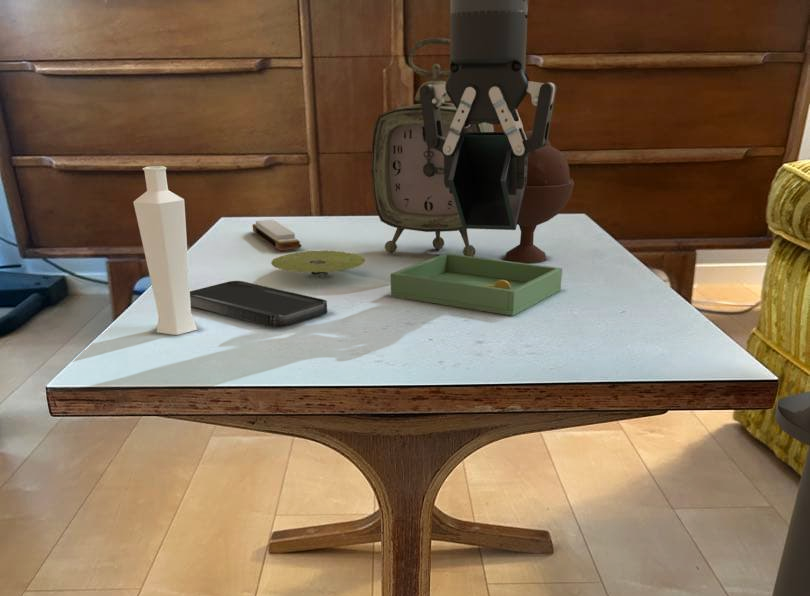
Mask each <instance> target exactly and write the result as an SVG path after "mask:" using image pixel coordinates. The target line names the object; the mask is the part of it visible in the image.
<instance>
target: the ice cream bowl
mask: <svg viewBox="0 0 810 596" xmlns="http://www.w3.org/2000/svg"><path fill="white" fill-rule="evenodd" d="M532 132H533V130H527V131H524V133H525V135H526V138H527V139H529V138H531V137H532ZM574 187H575V181H574V180H573V178H571V175H570V167H569V163H568V158H567V156H565V155H564V154H563V153H562V152H561V151H560V149H557V148H555V147H553V146H552V145H551V142H550V140H549V138H548V139H547V143H546V145H545V146H544V147H542V148H539V149H536V150H533V151H531V152H530V153H529V155H528V164H527V183H526V186H525V190H524V194H523V199H522V203H521V208H520V213H519V217H518V222H517V226H519V230H520V239H519V244H518V245H516V246H514V247H513V248H511V249H510V250H508V251H506V253H505V256H504V257H505V258H504V259H505V261H510V262H518V263H526V264H533V263H541V262H544V261H547V255H546V252H545V251H544V250H542V249H541V248H539V247H538V246H536V245H535V244H534V237H535V230H536V228H537V226H539V225H542V224H544V223H547V222H549V221H550V220H552V219H553V218H554V217H556V216H557V215H558V214H559V213H560V212H561V211H563V209H564V208H565V207H566V206H567V204H568V203H569V201H570V199H571V197H572V194H573V190H574Z"/></svg>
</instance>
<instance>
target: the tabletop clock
mask: <svg viewBox="0 0 810 596" xmlns="http://www.w3.org/2000/svg"><path fill="white" fill-rule="evenodd" d="M428 45H444V46H449V47H450V38H444V37H429V38H428V37H427V38H425V39H421V40H420V41H418V42H416V43H415V44H414V45H413V47H412V48H411V49H410V51H409V54H408V58H407V60H408V64H409V66H410V68H411V69H412V70H413V71H414V73H416V74H417V75H420V76H422V77H423V78H424V77H426V78H430V79H431V80H429V81H426V82H423V83H422V84H421V85H420V86H419V88H418V89H417V91H416V93H415V97H414V101H417V102H421V99H420V88H421V87H422V86H423V85H438V84H444V83H446V81H445V80H441V78H442V79H443V78H448V77H449V74H450V69H448V70H441V65H440V64H438V63H433V65H432V66H431V70H425V69H421V68H419V67H418V66H416V65H415V64H414V62H413V56H414V54H416V52H417V51H418V50H419V49H420V48H423V47H424V46H428ZM449 101H451V99H450V97H449V96H448V94H446V95H445V98H444V104H443V105H442V106H441V107H440V112H441V120H442V128H443V136H444V137H445V138H447V136H448V134H449V131H450V126H451V124H452V121H453V119H454V116H455V114H456V112H457V109H456V107H455V105H454V104H453V102H452V101H451V102H452V103H451V102H449ZM459 120H460V119H459ZM374 125H375V126H374V128H373V135H372V142H371V163H370V165H371V166H370V167H371V168H370V171H371V172H370V173H371V183H372V194H373V196H372V197H373V200H374V205H375V211H376V213H377V215H378V218H379V221H380V222H381V223H383V224H385V225H388V226H390V227H392V228H394V229H395V228H396V229H395V231H394V235H393V237H392V239H391V240H388V241H386V242H385V244H384V250H385V251H386V252H387V253H388V254H394V253H395V252H396V251H397V249H398V245H397V241H398V240H399V238H400V237H401V235H402V234H403V232H404V231H405V230H409V231H416V232H423V233H435V238H433V240H432V246H433V248H434V249H436V250H441V249H443V247H444V246H445V240H444V239H443V237H441V232H459V233H460V236H461V238H462V241H463V244H464V247H463V250H462V255H464V256H472V257H475V255H476V248H475V246H474V245H472V244H470V242H469V236H468V229H464V228H463V226H462V223H461V220H460V217H459V213H458V210H457V207H456V203H455V200H454V197H453V194H450V192H449V188H446V186H445V184H444V156H443V154H442V153H441V152H440V151H438V150H436V149H433V148H429V147H428V146H427V144H426V136H425V129H424V121H423V114H422V107H421V103H418V104H417V103H416V104H410V105H405V106H402V107H397V108H393V109H390V110H387V111H385V112H383V113H381V114H379V115H378V117H377V120H376V122H375V124H374ZM468 132H495V129H494V124H488V123H485V122H484V123H481V124H477V125H471V127H470V130H469V131H468Z"/></svg>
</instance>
